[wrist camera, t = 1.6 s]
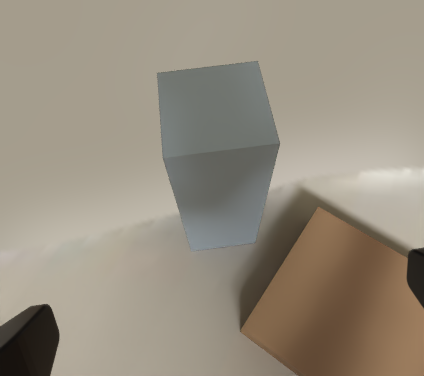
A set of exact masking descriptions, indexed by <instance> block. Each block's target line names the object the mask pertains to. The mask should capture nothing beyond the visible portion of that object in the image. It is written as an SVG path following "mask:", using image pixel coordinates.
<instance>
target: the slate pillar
mask: <svg viewBox="0 0 424 376" xmlns="http://www.w3.org/2000/svg"><path fill="white" fill-rule="evenodd" d="M157 78H158V92H159V108H160V122H161V137H162V152H163V160H164V163H165V167H166V170H167V173H168V176H169V180H170V183H171V186H172V189H173V193H174V196H175V199H176V202H177V205H178V209H179V212H180V215H181V219H182V222H183V225H184V229H185V232H186V235H187V238H188V242H189V245H190V248H191V251H198V250H206V249H213V248H221V247H228V246H236V245H243V244H251V243H255V241H256V237H257V233H258V229H259V225H260V221H261V217H262V213H263V209H264V205H265V201H266V197H267V193H268V189H269V185H270V181H271V177H272V173H273V169H274V165H275V161H276V157H277V153H278V149H279V145H280V141H279V138H278V134H277V130H276V127H275V123H274V119H273V115H272V112H271V108H270V105H269V101H268V97H267V94H266V90H265V86H264V82H263V78H262V75H261V71H260V67H259V64H258V61H254V62H246V63H237V64H229V65H220V66H212V67H204V68H196V69H187V70H178V71H170V72H161V73H157Z"/></svg>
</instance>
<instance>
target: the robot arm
mask: <svg viewBox="0 0 424 376" xmlns="http://www.w3.org/2000/svg"><path fill="white" fill-rule="evenodd" d="M406 278H407V283H408V286H409V288H410V290H411V291H412V292H413V294H414V295H415V297H416V298H417V300H418V301H419V303H420V304H421V306H422V307H423V309H424V248H418V249H412V250H411V251H410V252H409V254H408V262H407V276H406ZM58 343H59V329H58V326H57V323H56V320H55V317H54V314H53V311H52V309H51V307H50V306H49V305H48V304H42V305H36V306H31V307H29V308H27V309H26V310H24V311H23V312H21V313H20V314H18V315H17V316H15V317H14V318H12V319H11V320H9V321H8V322H6V323H5V324H3V325H2V326H0V376H50V374H51V370H52V367H53V363H54V359H55V355H56V351H57V347H58Z"/></svg>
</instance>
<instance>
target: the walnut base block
mask: <svg viewBox="0 0 424 376" xmlns="http://www.w3.org/2000/svg"><path fill="white" fill-rule="evenodd" d="M407 262H408V258H407V257H405V256H403V255H401V254H400V253H398V252H396V251H394V250H393V249H391V248H389V247H388V246H386V245H384V244H382V243H381V242H379V241H377V240H375V239H374V238H372V237H370V236H368V235H367V234H365V233H363V232H361V231H360V230H358V229H356V228H355V227H353V226H351V225H349V224H348V223H346V222H344V221H342V220H341V219H339V218H337V217H335V216H334V215H332V214H330V213H329V212H327V211H325V210H323V209H322V208H320V207H318V208H317V209H316V211H315V213H314V214H313V216H312V217H311V219H310V221H309V222H308V224H307V225H306V227H305V228H304V230H303V232H302V233H301V235H300V236H299V238H298V240H297V241H296V243H295V244H294V246H293V248H292V249H291V251H290V252H289V254H288V255H287V257H286V259H285V260H284V262H283V263H282V265H281V267H280V268H279V270H278V271H277V273H276V275H275V276H274V278H273V279H272V281H271V283H270V284H269V286H268V287H267V289H266V290H265V292H264V294H263V295H262V297H261V298H260V300H259V302H258V303H257V305H256V306H255V308H254V310H253V311H252V313H251V314H250V316H249V317H248V319H247V321H246V322H245V324H244V325H243V327H242V329H241V331H240V332H241V333H243V334H244V335H245V336H247V337H248V338H249V339H251V340H252V341H253V342H255V343H256V344H257V345H259V346H260V347H261V348H263V349H264V350H265V351H266V352H268V353H269V354H270V355H272V356H273V357H274V358H276V359H277V360H278V361H280V362H281V363H282V364H284V365H285V366H286V367H288V368H289V369H290V370H292V371H293V372H294V373H295V374H297V375H298V376H424V309H423V307H422V306H421V304H420V303H419V301H418V300H417V298H416V297H415V295H414V294H413V292H412V291H411V290H410V288H409V286H408V283H407V278H406V276H407Z"/></svg>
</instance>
